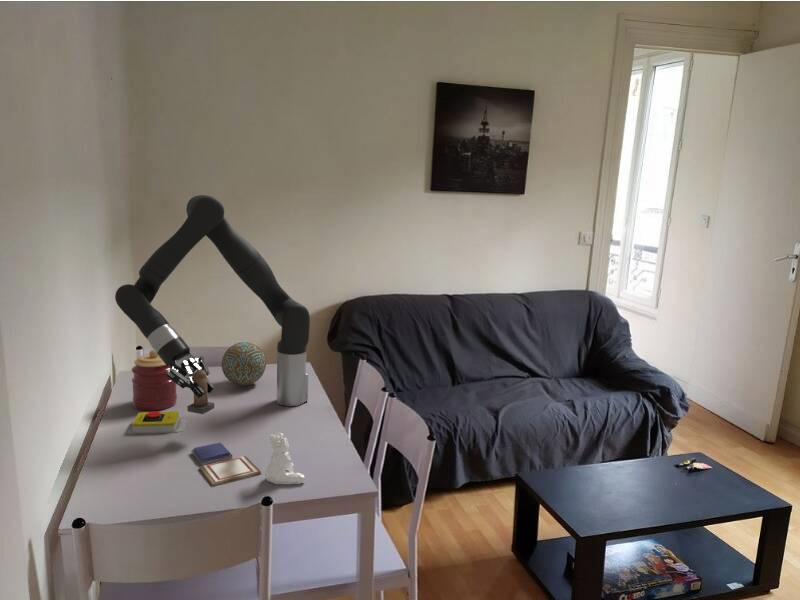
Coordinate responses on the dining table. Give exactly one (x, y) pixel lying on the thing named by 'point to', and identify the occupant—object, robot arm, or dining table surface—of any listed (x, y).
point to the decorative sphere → (243, 363)
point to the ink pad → (211, 453)
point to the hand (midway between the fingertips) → (206, 393)
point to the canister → (152, 384)
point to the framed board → (229, 470)
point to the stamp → (202, 403)
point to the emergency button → (157, 423)
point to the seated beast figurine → (281, 463)
